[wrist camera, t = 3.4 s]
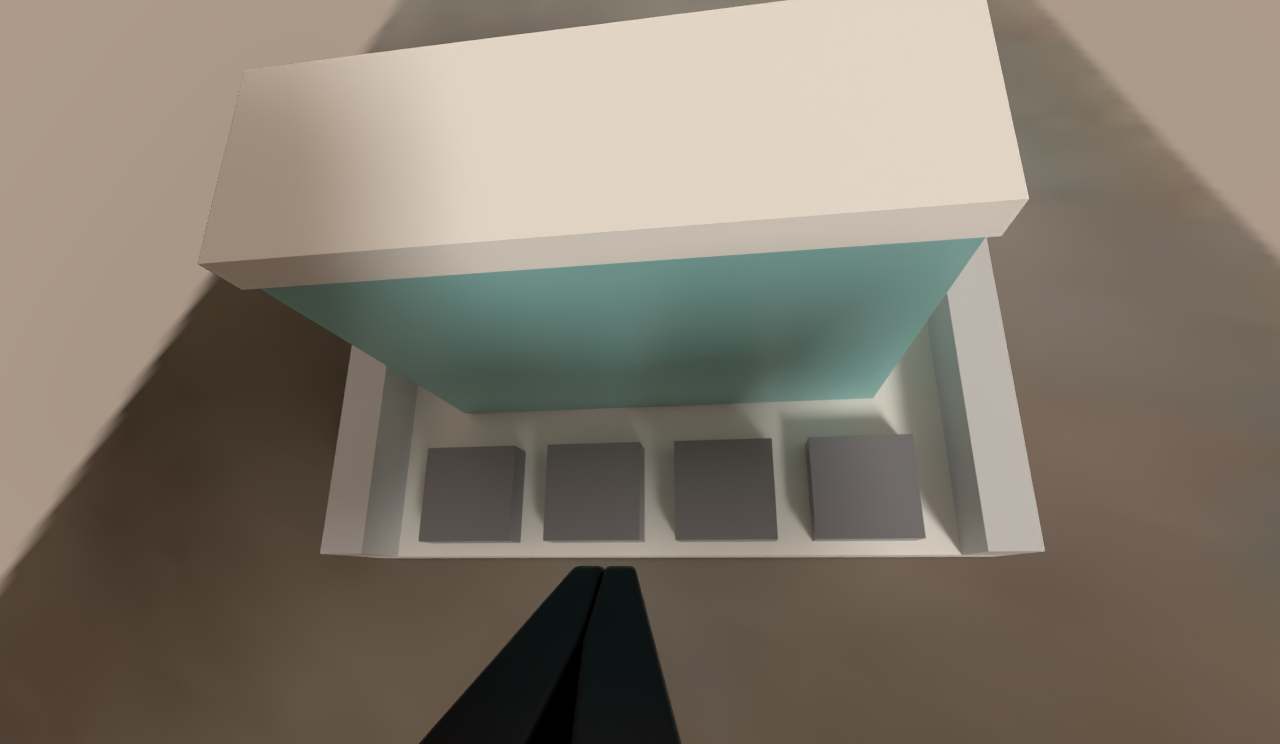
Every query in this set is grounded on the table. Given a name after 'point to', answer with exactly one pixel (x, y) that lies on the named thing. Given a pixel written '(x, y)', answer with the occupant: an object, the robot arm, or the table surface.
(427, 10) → the table surface
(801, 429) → the white slotted tray
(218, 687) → the table surface
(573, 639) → the robot arm
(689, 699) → the table surface
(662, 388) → the teal and cream panel
